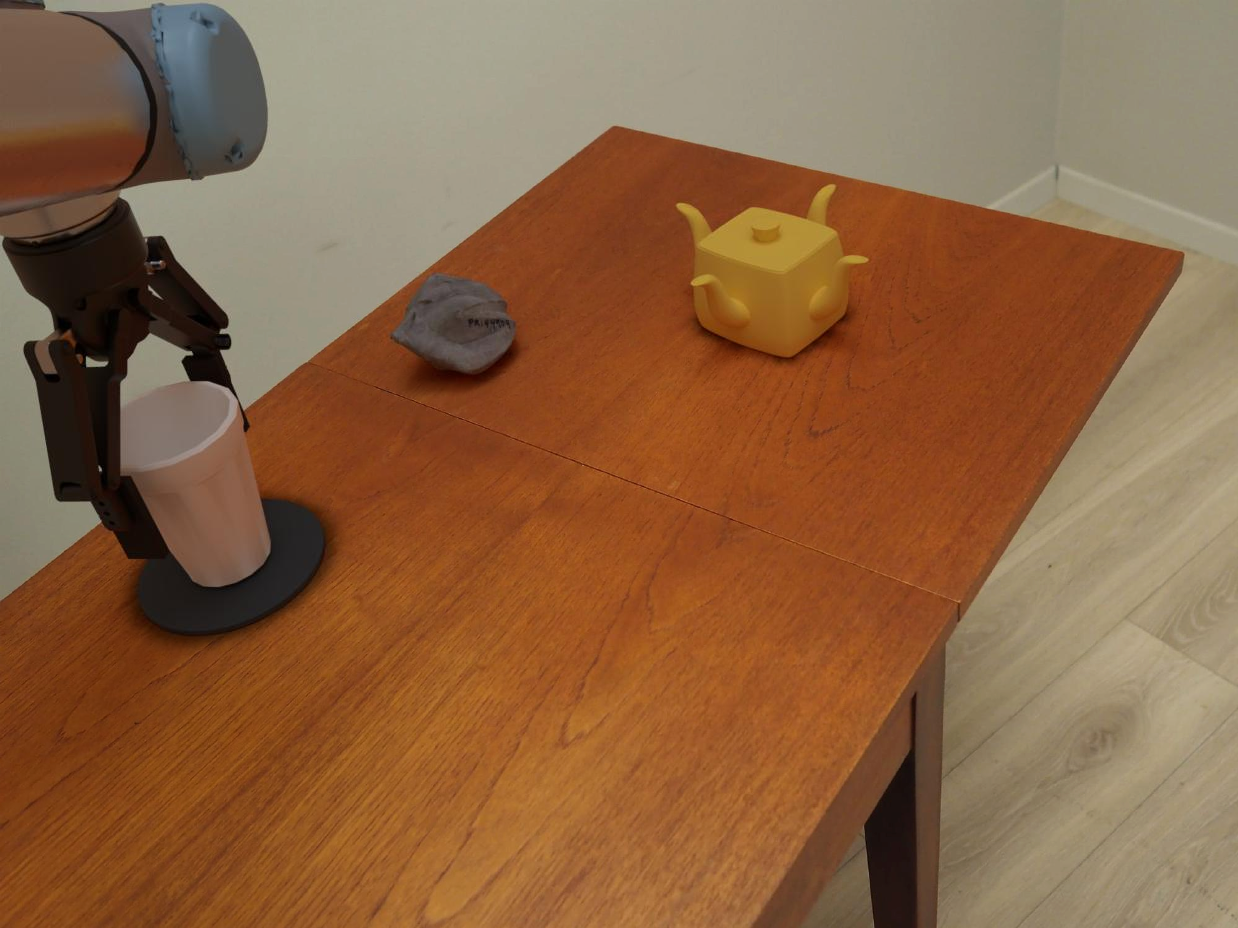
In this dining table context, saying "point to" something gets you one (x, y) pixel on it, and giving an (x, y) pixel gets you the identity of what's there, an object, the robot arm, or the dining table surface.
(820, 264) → the teapot
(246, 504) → the cup
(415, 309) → the fossil
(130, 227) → the robot arm
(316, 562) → the mat
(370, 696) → the dining table surface
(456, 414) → the dining table surface
